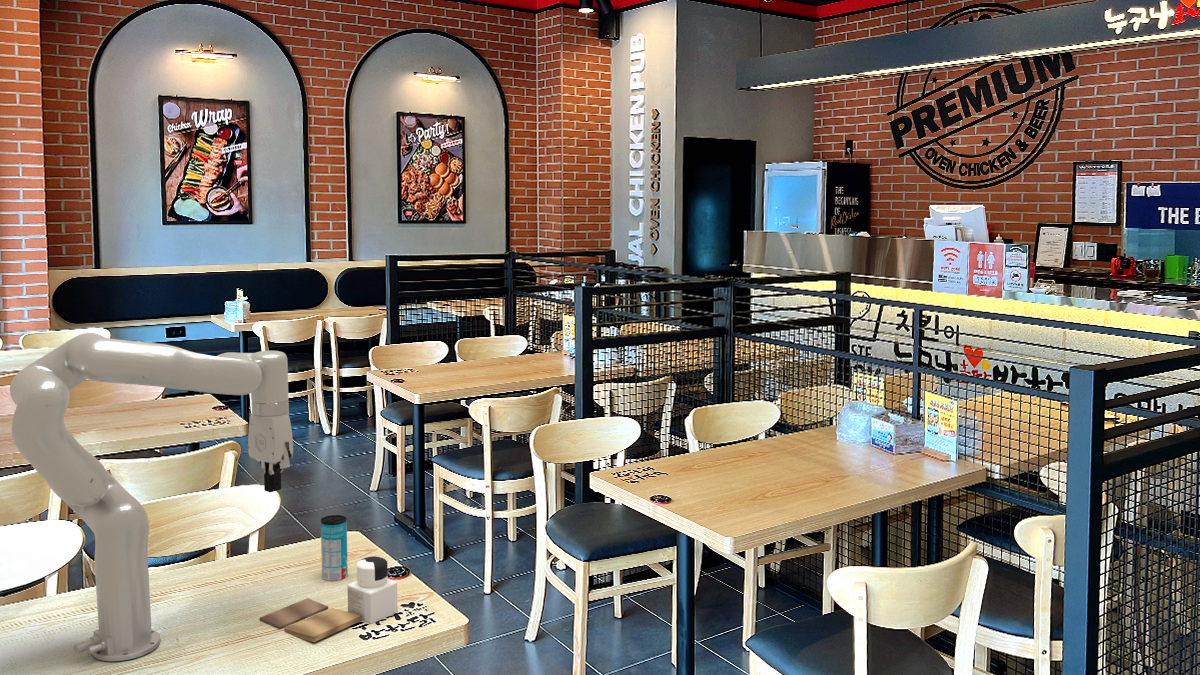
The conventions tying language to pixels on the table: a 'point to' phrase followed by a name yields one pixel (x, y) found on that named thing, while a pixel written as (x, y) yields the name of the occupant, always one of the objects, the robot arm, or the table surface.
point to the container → (372, 591)
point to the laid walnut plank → (293, 613)
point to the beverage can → (334, 547)
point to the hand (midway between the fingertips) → (273, 490)
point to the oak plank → (323, 624)
